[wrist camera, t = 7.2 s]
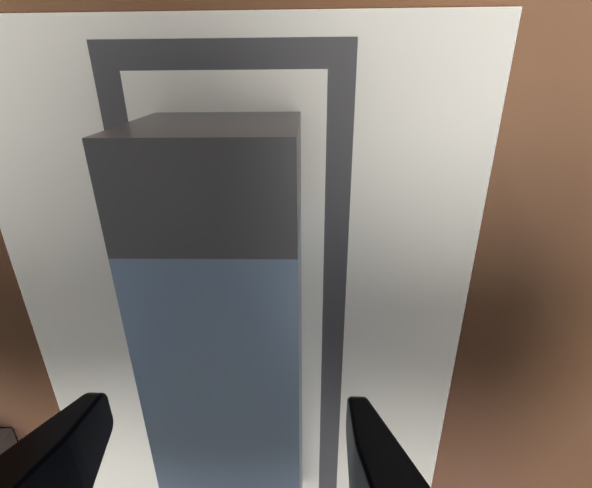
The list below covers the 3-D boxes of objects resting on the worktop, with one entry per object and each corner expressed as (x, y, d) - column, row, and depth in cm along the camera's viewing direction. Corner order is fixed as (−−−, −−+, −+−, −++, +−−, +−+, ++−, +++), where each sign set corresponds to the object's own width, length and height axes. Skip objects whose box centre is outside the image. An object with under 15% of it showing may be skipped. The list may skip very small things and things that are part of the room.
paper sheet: (423, 515, 15) (425, 523, 15) (96, 507, 15) (92, 515, 15) (517, 7, 8) (524, 5, 8) (-63, 15, 9) (-75, 14, 8)
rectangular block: (302, 482, 14) (300, 595, 11) (208, 480, 14) (181, 591, 11) (300, 111, 9) (296, 136, 6) (155, 112, 9) (81, 137, 6)
